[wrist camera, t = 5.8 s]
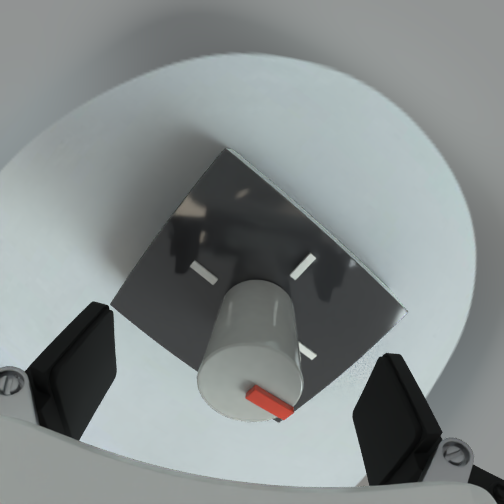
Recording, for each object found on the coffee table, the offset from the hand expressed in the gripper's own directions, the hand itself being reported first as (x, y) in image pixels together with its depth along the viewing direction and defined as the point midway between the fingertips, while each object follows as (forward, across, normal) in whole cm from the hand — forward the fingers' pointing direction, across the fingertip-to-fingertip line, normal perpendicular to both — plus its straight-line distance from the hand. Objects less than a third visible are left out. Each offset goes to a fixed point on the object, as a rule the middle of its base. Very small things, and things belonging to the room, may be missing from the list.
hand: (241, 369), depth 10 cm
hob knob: (+5, 0, +1) cm, 5 cm away
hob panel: (+8, 0, +1) cm, 8 cm away
